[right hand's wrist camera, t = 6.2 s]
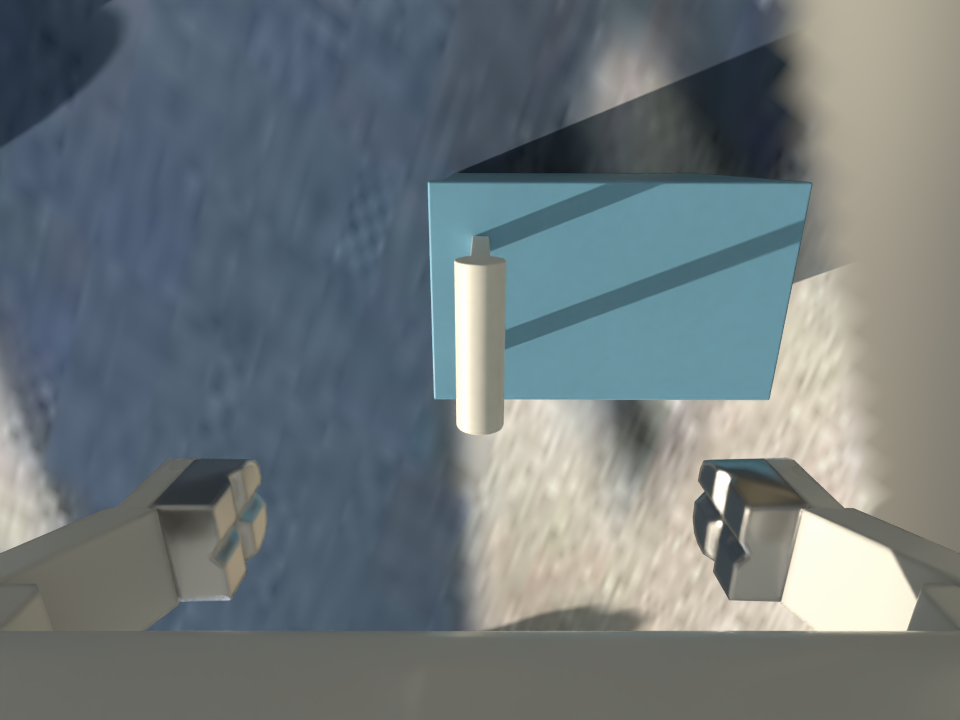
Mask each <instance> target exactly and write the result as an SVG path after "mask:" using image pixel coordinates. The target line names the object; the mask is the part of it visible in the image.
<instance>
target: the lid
mask: <svg viewBox="0 0 960 720" xmlns="http://www.w3.org/2000/svg"><path fill="white" fill-rule="evenodd" d="M811 189H812V183H811V182H802V181H489V180H432V181H430V182H428V207H429V241H430V275H431V309H432V343H433V377H434V398H435V399H456V416H457V427H458V428H459V429H460V430H461V431H463V432H465V433H468V434H473V435H487V434H492V433H495V432H497V431H499V430H500V429H501V428H502V427H503V423H504V399H578V400H769V398H770V393H771V388H772V383H773V378H774V373H775V369H776V364H777V359H778V354H779V349H780V344H781V339H782V334H783V329H784V324H785V319H786V314H787V309H788V304H789V299H790V294H791V289H792V284H793V279H794V274H795V269H796V264H797V259H798V254H799V249H800V244H801V239H802V234H803V229H804V224H805V219H806V214H807V209H808V204H809V199H810V194H811Z"/></svg>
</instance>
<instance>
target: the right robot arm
mask: <svg viewBox="0 0 960 720" xmlns="http://www.w3.org/2000/svg"><path fill="white" fill-rule="evenodd" d="M261 482H262V478H261V473H260V468H259V465H258V463H257V462H256V461H255V460H254V459H204V458H201V459H198V458H174V459H167V460H166V461H165V462H164V463H163V464H162V465H160V466H159V467H158V468H157V469H156V470H155V471H154V472H153V473H152V474H151V475H150V476H149V477H148V478H147V479H146V480H145V481H144V482H143V483H142V484H141V485H139V486H138V487H137V488H136V489H135V490H134V491H133V492H132V493H131V494H130V495H129V496H128V497H127V498H126V499H125V500H124V501H123V502H122V503H121V504H119V505H118V506H117V507H116V508H106V509H103V510H101V511H99V512H96V513H94V514H92V515H89V516H87V517H85V518H82V519H80V520H78V521H75V522H73V523H71V524H68V525H66V526H64V527H61V528H59V529H56V530H54V531H52V532H49V533H47V534H45V535H42V536H40V537H38V538H35V539H33V540H31V541H28V542H26V543H24V544H21V545H19V546H16V547H14V548H12V549H9V550H7V551H5V552H2V553H0V720H960V553H957V552H955V551H953V550H950V549H948V548H946V547H943V546H941V545H939V544H936V543H934V542H932V541H929V540H927V539H925V538H922V537H920V536H918V535H915V534H913V533H910V532H908V531H906V530H903V529H901V528H899V527H896V526H894V525H892V524H889V523H887V522H885V521H882V520H880V519H878V518H875V517H873V516H871V515H868V514H866V513H864V512H861V511H859V510H857V509H854V508H844V507H843V506H842V505H841V504H840V503H838V502H837V501H836V500H835V499H834V498H833V497H832V496H831V495H830V494H829V493H828V492H827V491H826V490H825V489H824V488H823V487H822V486H821V485H820V484H819V483H818V482H816V481H815V480H814V479H813V478H812V477H811V476H810V475H809V474H808V473H807V472H806V471H805V470H804V469H803V468H802V467H801V466H800V465H799V464H798V463H797V462H795V461H794V460H792V459H789V458H769V459H725V460H705V461H703V463H702V466H701V468H700V472H699V478H698V482H699V483H700V485H701V486H702V488H703V489H704V491H705V492H704V493H703V494H702V495H701V496H700V497H699V498H698V499H697V500H696V501H695V503H694V512H693V525H694V534H695V537H696V540H697V543H698V545H699V547H700V549H701V551H702V553H703V554H704V555H706V556H707V557H709V558H710V559H712V560H713V561H715V563H714V569H713V572H714V574H715V576H716V578H717V579H718V581H719V583H720V585H721V586H722V588H723V590H724V592H725V593H726V595H727V597H728V599H729V600H741V601H778V602H781V604H782V605H783V606H784V607H785V608H787V609H788V610H789V611H791V612H792V613H793V614H795V615H796V616H797V617H798V618H800V619H801V620H802V621H804V622H805V623H806V624H808V625H809V626H810V627H812V628H813V629H814V630H815V631H145V630H146V629H147V628H149V627H150V626H151V625H153V624H154V623H155V622H157V621H158V620H159V619H160V618H162V617H163V616H164V615H166V614H167V613H168V612H170V611H171V610H172V609H173V608H175V607H176V606H177V605H179V602H182V601H217V600H231V599H232V597H233V595H234V594H235V592H236V590H237V588H238V587H239V585H240V583H241V581H242V579H243V578H244V576H245V574H246V572H247V569H246V563H245V561H247V560H248V559H250V558H251V557H253V556H254V555H256V554H257V553H258V551H259V549H260V547H261V545H262V543H263V540H264V536H265V532H266V528H267V510H266V503H265V501H264V500H263V499H262V498H261V497H260V496H259V495H258V494H257V493H256V492H255V491H256V489H257V488H258V486H259V485H260V483H261Z"/></svg>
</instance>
